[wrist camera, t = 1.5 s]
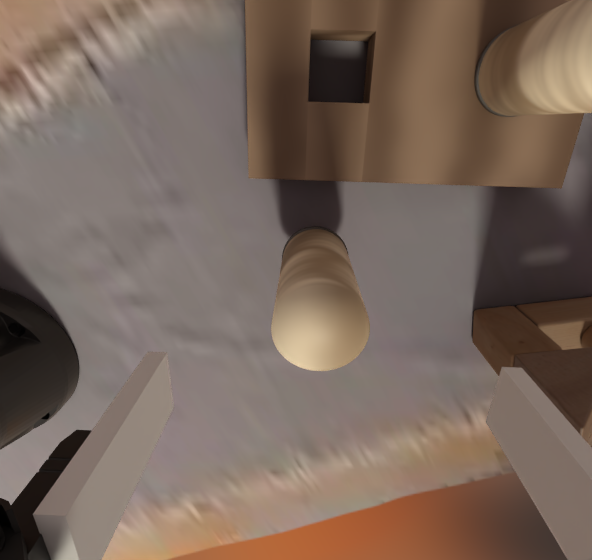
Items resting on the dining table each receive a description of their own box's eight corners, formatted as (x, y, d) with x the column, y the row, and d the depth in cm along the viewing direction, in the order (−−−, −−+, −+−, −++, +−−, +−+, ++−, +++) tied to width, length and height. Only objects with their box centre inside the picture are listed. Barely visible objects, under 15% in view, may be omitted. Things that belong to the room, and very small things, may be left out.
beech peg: (283, 275, 32) (270, 369, 20) (284, 217, 30) (270, 282, 18) (342, 277, 32) (365, 373, 20) (346, 219, 30) (376, 286, 18)
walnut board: (254, 172, 29) (215, 209, 17) (250, -55, 24) (189, -254, 11) (536, 182, 29) (713, 226, 16) (599, -46, 23) (935, -239, 11)
